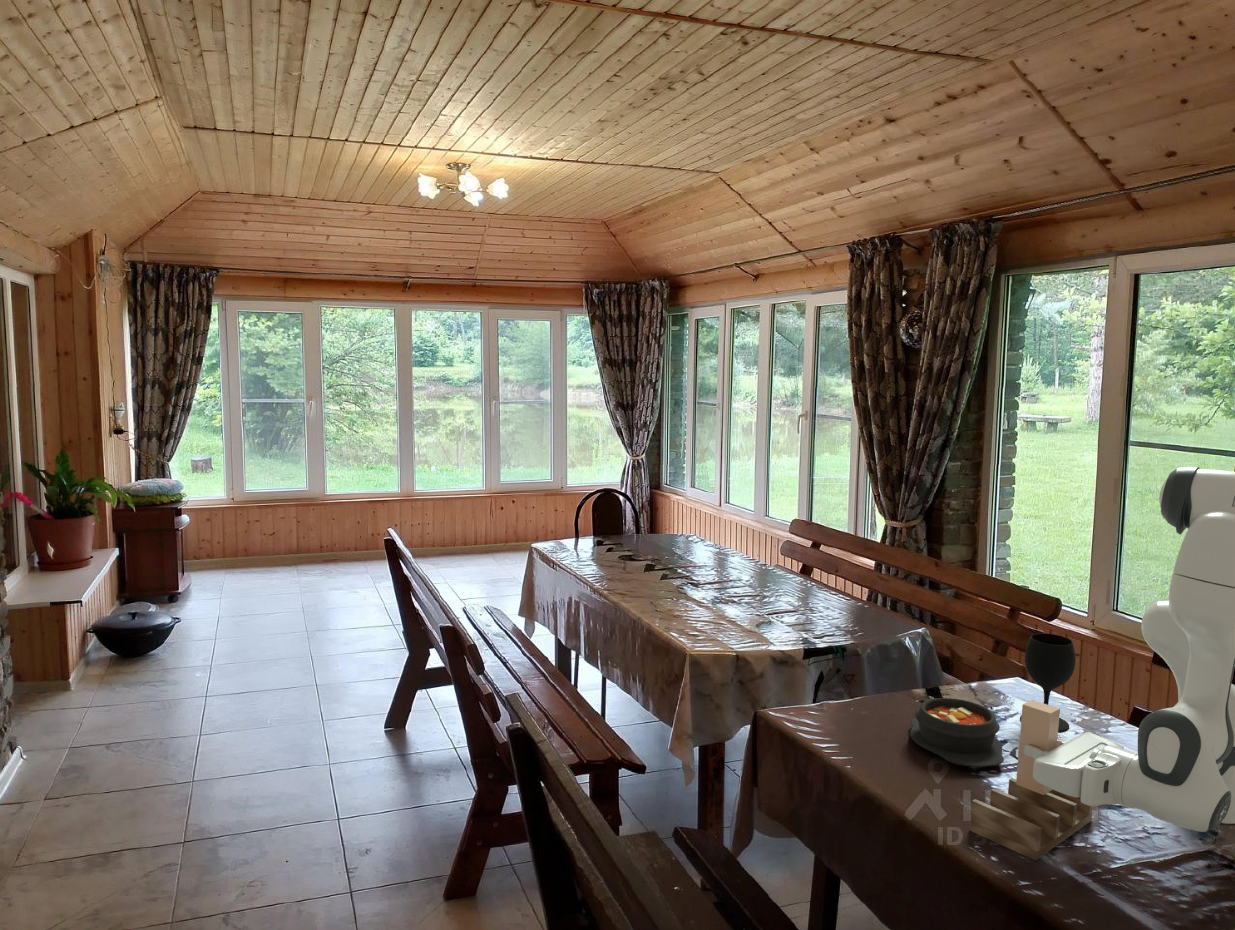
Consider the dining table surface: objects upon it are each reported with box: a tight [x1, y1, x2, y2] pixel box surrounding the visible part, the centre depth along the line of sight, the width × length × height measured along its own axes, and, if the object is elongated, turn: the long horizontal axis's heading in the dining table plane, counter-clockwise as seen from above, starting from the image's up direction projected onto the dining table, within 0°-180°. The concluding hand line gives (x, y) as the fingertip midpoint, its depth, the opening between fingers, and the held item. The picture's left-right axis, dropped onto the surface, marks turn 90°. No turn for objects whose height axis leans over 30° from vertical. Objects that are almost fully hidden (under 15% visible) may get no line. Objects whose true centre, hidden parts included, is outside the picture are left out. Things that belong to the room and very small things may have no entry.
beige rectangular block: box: [1015, 699, 1061, 795], centre depth 161 cm, size 5×4×15 cm
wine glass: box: [1019, 632, 1077, 733], centre depth 207 cm, size 10×10×20 cm
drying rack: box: [969, 777, 1093, 861], centre depth 163 cm, size 12×21×6 cm, turn 129°
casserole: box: [909, 697, 1005, 768], centre depth 194 cm, size 25×19×8 cm
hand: (1032, 745), depth 162 cm, fingers closed on beige rectangular block, 3 cm apart
